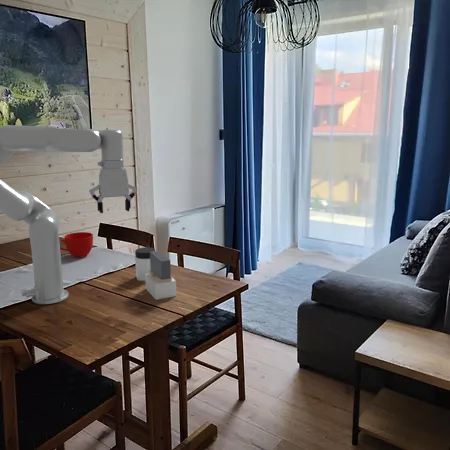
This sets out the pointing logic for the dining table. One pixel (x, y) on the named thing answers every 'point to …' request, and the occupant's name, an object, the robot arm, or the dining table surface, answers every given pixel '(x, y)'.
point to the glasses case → (160, 265)
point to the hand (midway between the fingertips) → (114, 211)
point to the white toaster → (160, 286)
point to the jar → (142, 262)
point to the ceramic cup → (78, 243)
